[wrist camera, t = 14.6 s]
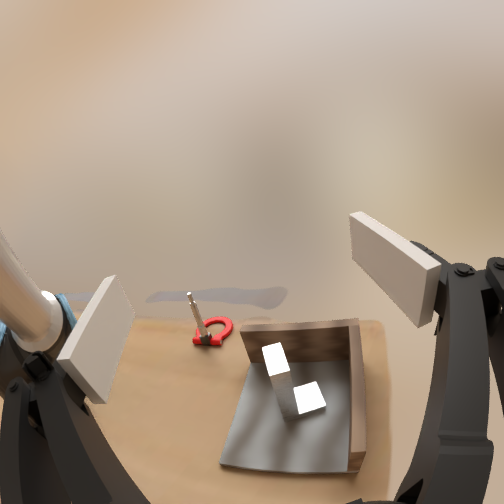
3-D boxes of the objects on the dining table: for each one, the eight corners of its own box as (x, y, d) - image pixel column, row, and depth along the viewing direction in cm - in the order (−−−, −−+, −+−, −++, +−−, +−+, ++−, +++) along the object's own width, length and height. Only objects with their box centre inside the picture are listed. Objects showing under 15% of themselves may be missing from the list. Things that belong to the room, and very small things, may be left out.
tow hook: (205, 319, 64) (190, 345, 56) (189, 273, 59) (169, 295, 51) (238, 320, 61) (225, 347, 53) (223, 271, 57) (206, 295, 49)
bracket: (284, 422, 34) (269, 375, 29) (277, 397, 38) (261, 347, 33) (326, 409, 34) (322, 359, 29) (316, 385, 39) (309, 333, 34)
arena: (220, 465, 29) (197, 441, 26) (254, 359, 48) (242, 325, 45) (358, 472, 24) (366, 451, 20) (357, 355, 43) (358, 318, 39)
